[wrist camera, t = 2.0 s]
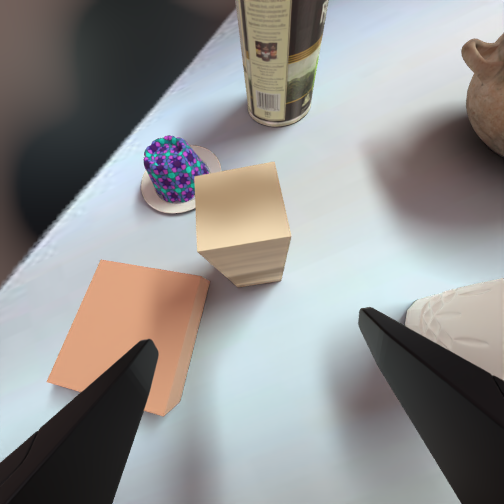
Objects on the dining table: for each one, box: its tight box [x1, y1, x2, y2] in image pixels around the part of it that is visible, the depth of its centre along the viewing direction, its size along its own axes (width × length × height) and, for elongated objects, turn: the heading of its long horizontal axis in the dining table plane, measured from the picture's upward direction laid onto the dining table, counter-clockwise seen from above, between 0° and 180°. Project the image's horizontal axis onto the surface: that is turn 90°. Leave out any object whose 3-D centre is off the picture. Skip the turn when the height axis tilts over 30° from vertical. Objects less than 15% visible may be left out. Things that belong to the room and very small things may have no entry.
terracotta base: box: [47, 260, 210, 416], centre depth 20 cm, size 12×12×3 cm
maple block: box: [194, 162, 291, 287], centre depth 17 cm, size 5×5×12 cm
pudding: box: [141, 136, 221, 213], centre depth 26 cm, size 12×12×5 cm
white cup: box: [405, 278, 504, 380], centre depth 14 cm, size 8×8×10 cm
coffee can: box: [235, 0, 329, 127], centre depth 24 cm, size 10×10×14 cm
